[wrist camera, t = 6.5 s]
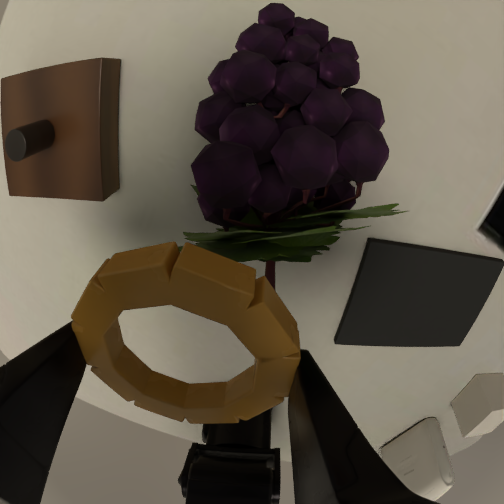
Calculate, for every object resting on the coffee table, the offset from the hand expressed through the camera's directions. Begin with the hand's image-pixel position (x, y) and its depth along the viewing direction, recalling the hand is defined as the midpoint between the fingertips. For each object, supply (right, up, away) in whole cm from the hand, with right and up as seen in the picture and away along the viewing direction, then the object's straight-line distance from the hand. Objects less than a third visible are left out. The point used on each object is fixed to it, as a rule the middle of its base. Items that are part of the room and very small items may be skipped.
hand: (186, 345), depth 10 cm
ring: (0, 0, 0) cm, 0 cm away
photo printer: (+25, -24, +27) cm, 44 cm away
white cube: (+32, -15, +21) cm, 41 cm away
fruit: (+4, +10, +8) cm, 14 cm away
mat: (+17, -1, +14) cm, 22 cm away
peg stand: (-11, +12, +8) cm, 18 cm away
